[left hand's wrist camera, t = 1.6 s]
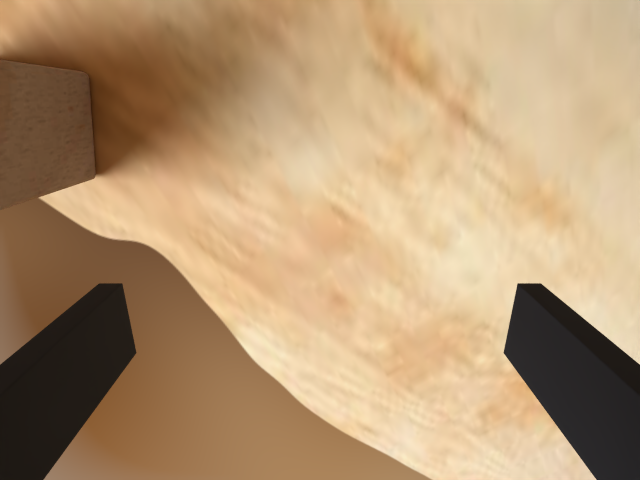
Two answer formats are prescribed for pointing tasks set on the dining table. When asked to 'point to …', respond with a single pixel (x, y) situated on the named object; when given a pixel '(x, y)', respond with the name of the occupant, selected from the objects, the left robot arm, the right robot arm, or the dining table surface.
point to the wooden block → (43, 131)
